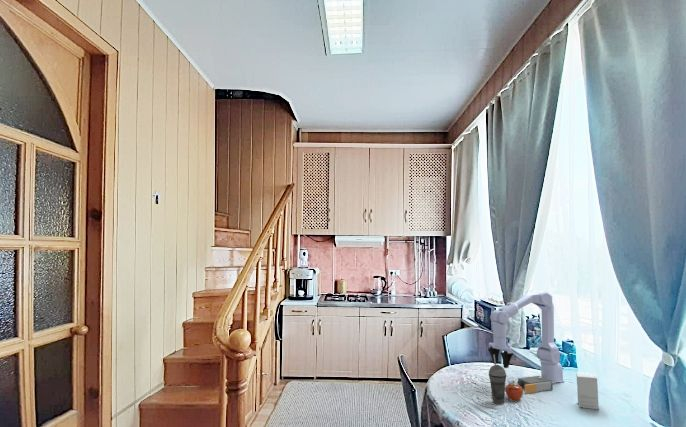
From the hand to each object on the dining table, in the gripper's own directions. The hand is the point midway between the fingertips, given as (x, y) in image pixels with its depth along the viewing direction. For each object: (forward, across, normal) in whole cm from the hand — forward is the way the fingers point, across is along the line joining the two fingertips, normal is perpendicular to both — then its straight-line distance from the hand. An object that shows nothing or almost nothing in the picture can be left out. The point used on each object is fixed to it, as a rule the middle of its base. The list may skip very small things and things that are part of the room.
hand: (500, 365), depth 212 cm
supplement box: (+10, +32, +18) cm, 38 cm away
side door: (+10, +11, +12) cm, 19 cm away
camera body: (+10, +6, +14) cm, 18 cm away
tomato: (+10, +15, -5) cm, 19 cm away
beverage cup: (+10, +16, -14) cm, 24 cm away
